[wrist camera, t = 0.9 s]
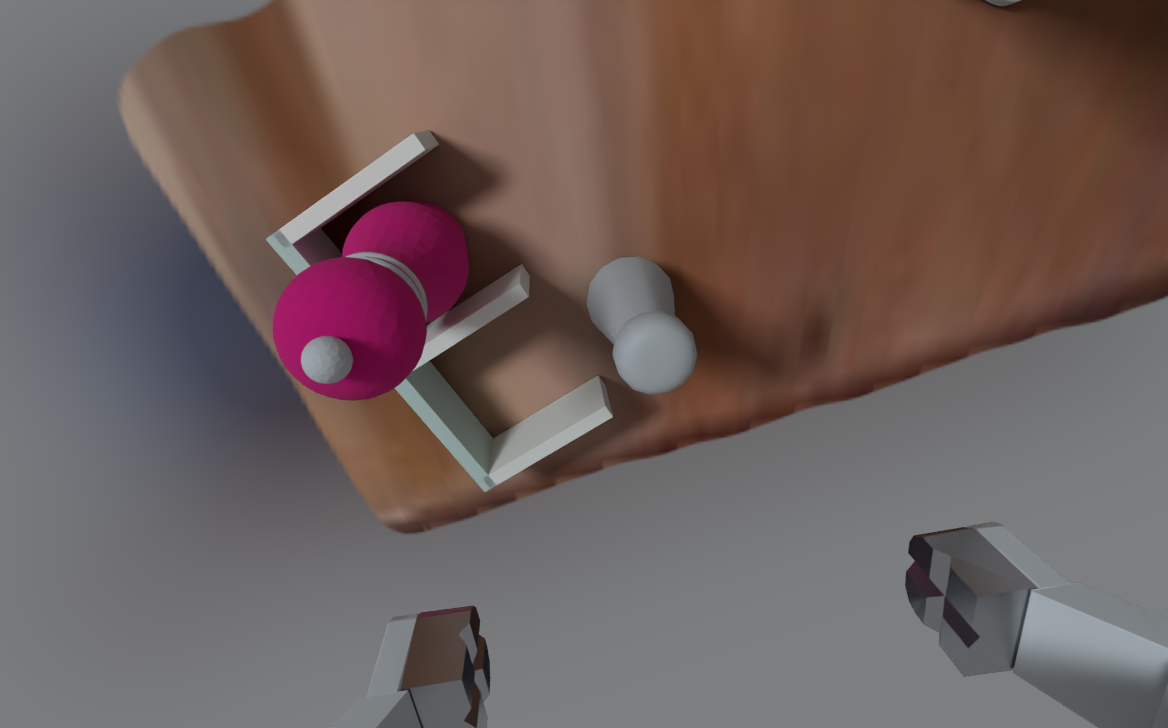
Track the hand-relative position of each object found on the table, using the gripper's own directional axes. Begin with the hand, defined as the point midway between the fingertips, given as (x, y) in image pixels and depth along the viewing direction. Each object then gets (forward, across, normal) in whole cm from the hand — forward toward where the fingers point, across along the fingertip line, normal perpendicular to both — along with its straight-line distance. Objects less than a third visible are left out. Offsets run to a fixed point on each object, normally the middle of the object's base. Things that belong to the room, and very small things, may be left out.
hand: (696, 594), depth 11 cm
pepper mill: (+32, +10, -1) cm, 34 cm away
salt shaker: (+32, -3, +4) cm, 32 cm away
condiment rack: (+32, +8, +3) cm, 33 cm away
